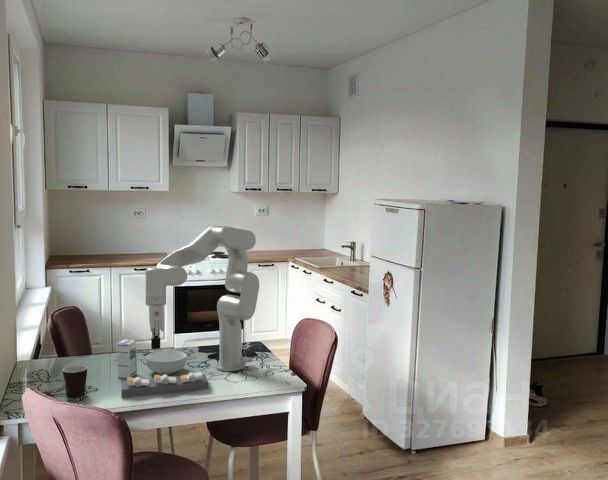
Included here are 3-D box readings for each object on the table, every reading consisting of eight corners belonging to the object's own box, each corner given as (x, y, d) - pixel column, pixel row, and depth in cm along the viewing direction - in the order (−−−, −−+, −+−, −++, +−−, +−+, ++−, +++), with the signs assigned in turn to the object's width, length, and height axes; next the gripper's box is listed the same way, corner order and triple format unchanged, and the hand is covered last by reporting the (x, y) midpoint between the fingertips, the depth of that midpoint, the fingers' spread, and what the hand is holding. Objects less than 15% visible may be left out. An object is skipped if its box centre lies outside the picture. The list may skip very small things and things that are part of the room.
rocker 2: (201, 375, 224) (200, 369, 223) (203, 379, 220) (202, 373, 219) (181, 380, 222) (180, 374, 221) (182, 384, 217) (181, 378, 217)
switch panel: (205, 381, 229) (204, 373, 229) (208, 389, 220) (208, 381, 219) (121, 388, 220) (121, 380, 219) (121, 397, 210) (121, 388, 210)
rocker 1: (148, 383, 218) (149, 377, 218) (148, 387, 214) (149, 381, 214) (126, 382, 215) (127, 375, 215) (126, 385, 211) (127, 379, 211)
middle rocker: (174, 381, 221) (175, 375, 221) (175, 385, 217) (176, 379, 217) (153, 379, 218) (154, 373, 218) (154, 383, 214) (155, 377, 214)
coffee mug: (84, 398, 209) (83, 372, 208) (59, 399, 208) (59, 372, 207) (93, 387, 220) (92, 362, 219) (70, 388, 219) (69, 362, 219)
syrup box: (130, 378, 231) (129, 343, 230) (116, 377, 232) (116, 342, 231) (136, 374, 237) (136, 340, 236) (123, 373, 238) (123, 339, 237)
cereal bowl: (172, 380, 230) (172, 363, 229) (137, 375, 235) (137, 358, 235) (194, 368, 245) (194, 352, 245) (161, 363, 251) (161, 348, 250)
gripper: (167, 303, 208) (167, 353, 209) (164, 296, 222) (164, 342, 223) (146, 304, 205) (146, 354, 207) (145, 297, 220) (144, 343, 221)
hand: (155, 348), depth 215 cm, fingers closed
